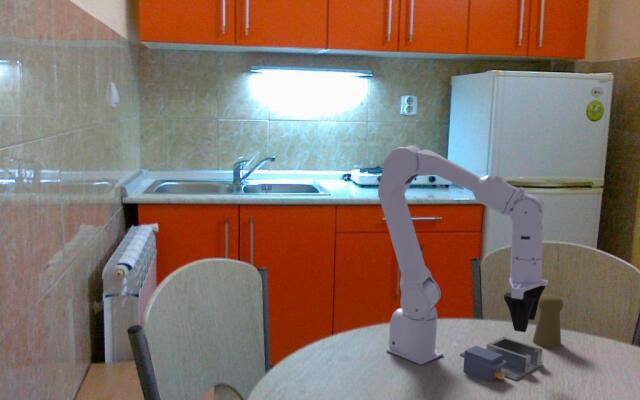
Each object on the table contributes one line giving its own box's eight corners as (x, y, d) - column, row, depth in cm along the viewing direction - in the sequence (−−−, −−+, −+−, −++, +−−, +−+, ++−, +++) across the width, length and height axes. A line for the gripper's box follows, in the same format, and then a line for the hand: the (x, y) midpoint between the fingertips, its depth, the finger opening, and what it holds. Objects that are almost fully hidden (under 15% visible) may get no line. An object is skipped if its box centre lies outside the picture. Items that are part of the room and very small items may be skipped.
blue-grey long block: (459, 370, 123) (460, 349, 123) (470, 364, 126) (471, 344, 125) (497, 385, 117) (499, 363, 117) (508, 379, 120) (510, 357, 119)
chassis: (467, 361, 127) (468, 345, 127) (495, 348, 135) (496, 333, 134) (516, 380, 119) (517, 363, 119) (542, 364, 127) (544, 348, 126)
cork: (563, 349, 135) (568, 301, 133) (534, 346, 136) (539, 299, 135) (558, 339, 141) (563, 293, 139) (531, 336, 142) (535, 290, 140)
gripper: (540, 267, 110) (538, 340, 112) (555, 251, 122) (552, 316, 124) (500, 263, 113) (499, 333, 115) (518, 247, 126) (517, 311, 128)
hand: (524, 324), depth 120 cm, fingers open, 7 cm apart
